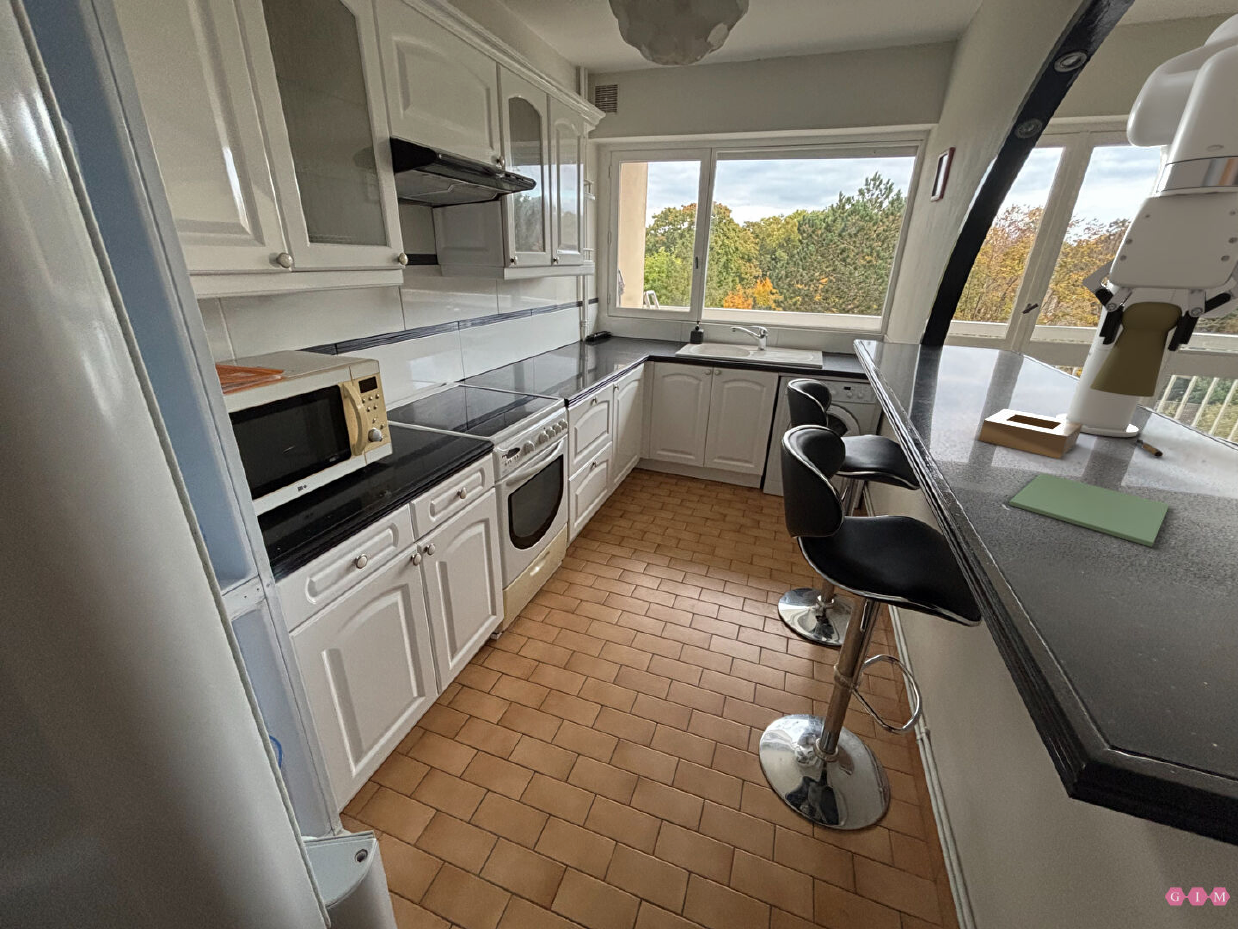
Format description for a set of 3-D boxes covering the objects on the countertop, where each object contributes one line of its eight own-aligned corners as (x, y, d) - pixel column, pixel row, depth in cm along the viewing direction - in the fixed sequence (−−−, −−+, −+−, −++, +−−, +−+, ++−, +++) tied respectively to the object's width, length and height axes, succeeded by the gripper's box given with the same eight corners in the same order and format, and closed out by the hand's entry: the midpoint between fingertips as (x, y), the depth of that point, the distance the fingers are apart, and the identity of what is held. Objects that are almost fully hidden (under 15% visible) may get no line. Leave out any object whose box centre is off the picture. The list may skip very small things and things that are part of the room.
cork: (1166, 398, 62) (1207, 304, 58) (1110, 394, 63) (1147, 301, 59) (1130, 389, 67) (1165, 302, 63) (1079, 385, 68) (1110, 299, 64)
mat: (1040, 476, 78) (1041, 472, 78) (1167, 508, 68) (1169, 504, 68) (1008, 504, 68) (1009, 500, 68) (1151, 547, 59) (1153, 542, 58)
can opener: (1161, 458, 86) (1164, 452, 85) (1143, 455, 87) (1145, 449, 86) (1146, 444, 93) (1149, 438, 92) (1129, 441, 94) (1132, 435, 94)
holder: (998, 428, 101) (1004, 408, 99) (1075, 444, 92) (1083, 423, 91) (978, 440, 94) (984, 419, 92) (1059, 458, 85) (1067, 436, 84)
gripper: (1327, 177, 52) (1243, 353, 59) (1108, 191, 65) (1060, 336, 71) (1332, 168, 48) (1241, 360, 55) (1096, 185, 60) (1046, 341, 67)
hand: (1139, 345), depth 63 cm, fingers closed on cork, 5 cm apart
